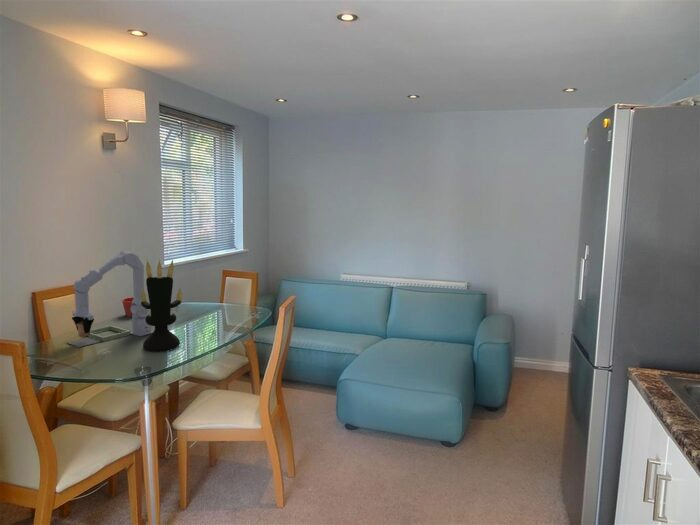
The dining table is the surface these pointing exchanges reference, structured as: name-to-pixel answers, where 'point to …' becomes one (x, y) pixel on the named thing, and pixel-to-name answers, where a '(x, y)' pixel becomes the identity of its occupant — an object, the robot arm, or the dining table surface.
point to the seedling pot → (81, 330)
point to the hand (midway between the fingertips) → (83, 331)
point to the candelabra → (160, 309)
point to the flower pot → (127, 305)
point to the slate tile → (83, 342)
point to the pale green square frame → (123, 333)
